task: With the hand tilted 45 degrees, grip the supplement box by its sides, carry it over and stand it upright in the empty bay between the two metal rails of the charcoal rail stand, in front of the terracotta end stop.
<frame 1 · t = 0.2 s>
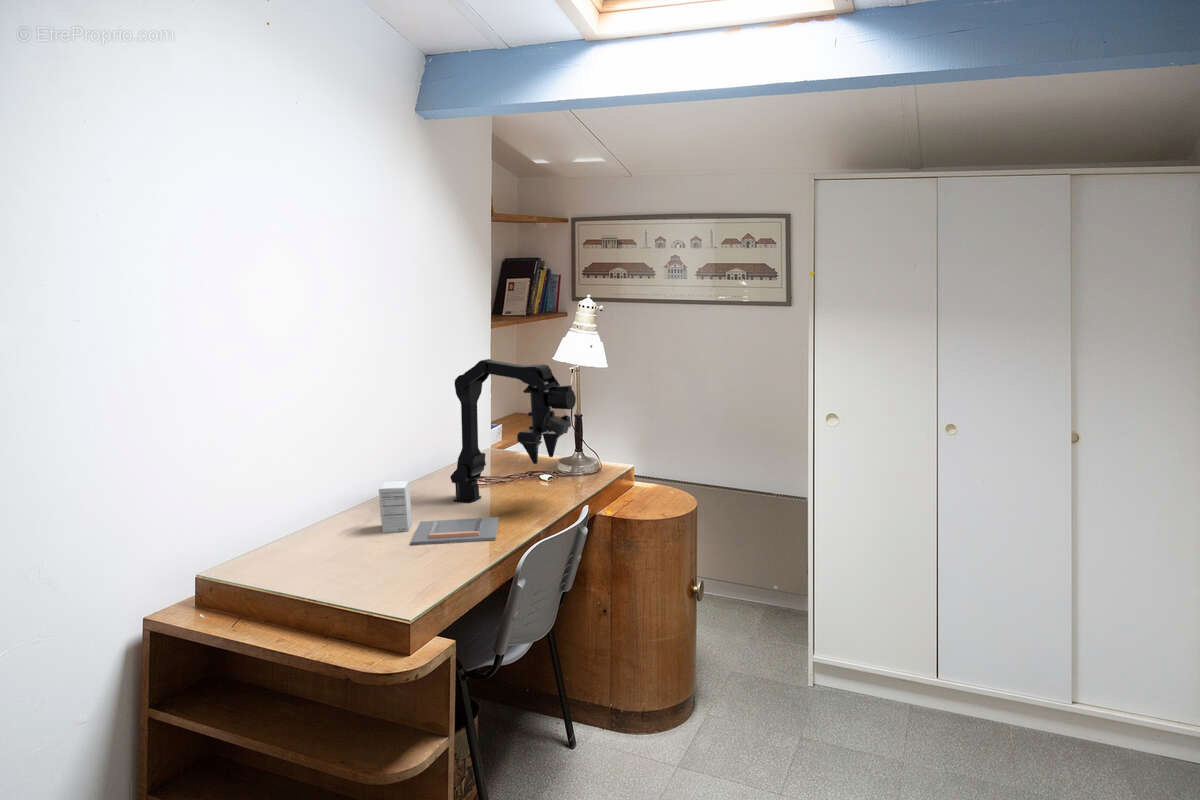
hand: (543, 460, 233), 15 cm above the table, tool pointing down, fingers open, 9 cm apart
rail stand: (456, 531, 216), on the table
supplement box: (397, 529, 221), on the table
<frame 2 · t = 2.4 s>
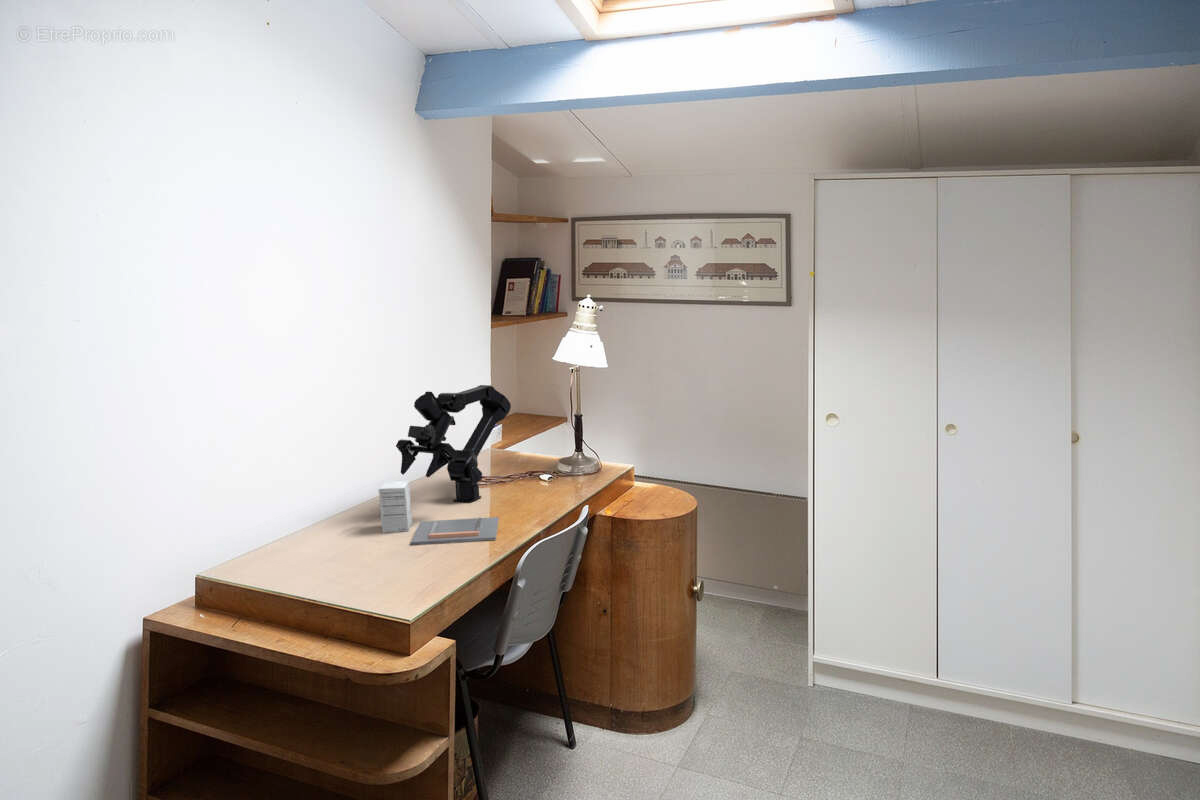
hand: (414, 475, 226), 13 cm above the table, tool tilted 45°, fingers open, 9 cm apart
nothing on the table moved.
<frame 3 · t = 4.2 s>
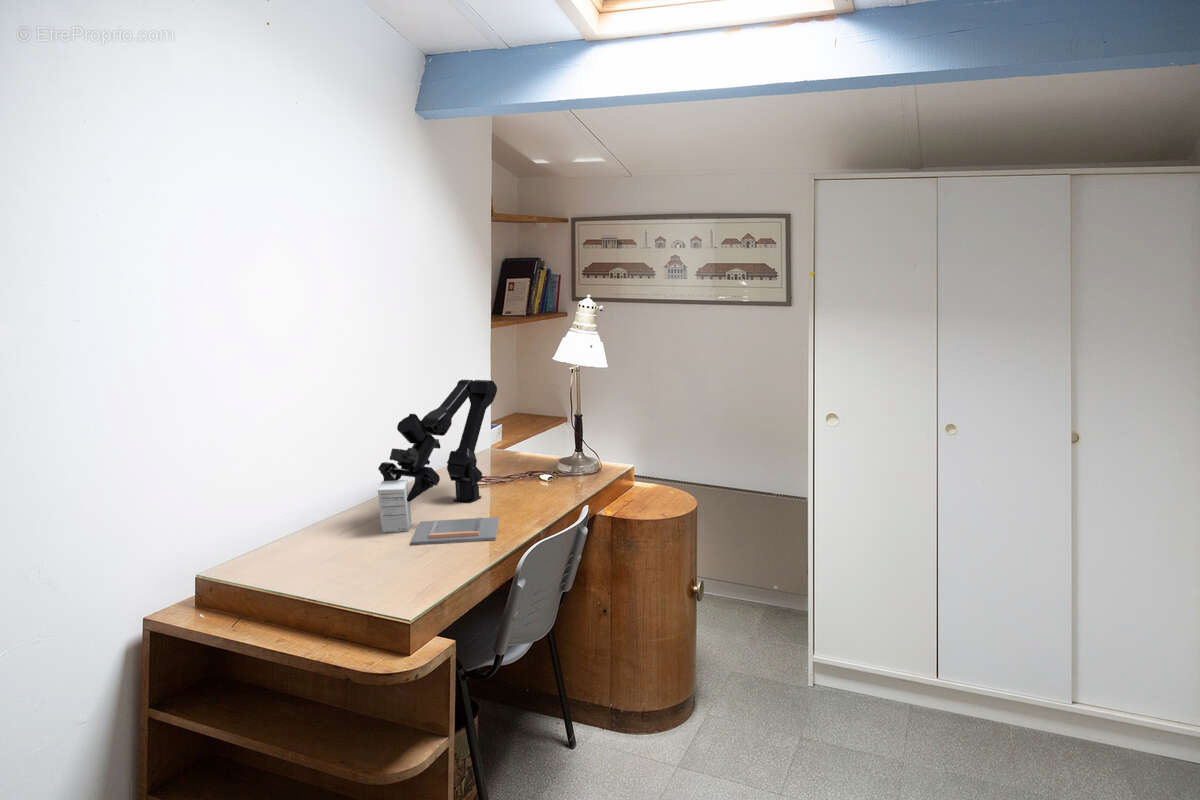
hand: (395, 499, 220), 8 cm above the table, tool tilted 45°, fingers closed on supplement box, 9 cm apart
supplement box: (397, 527, 221), on the table, touching gripper
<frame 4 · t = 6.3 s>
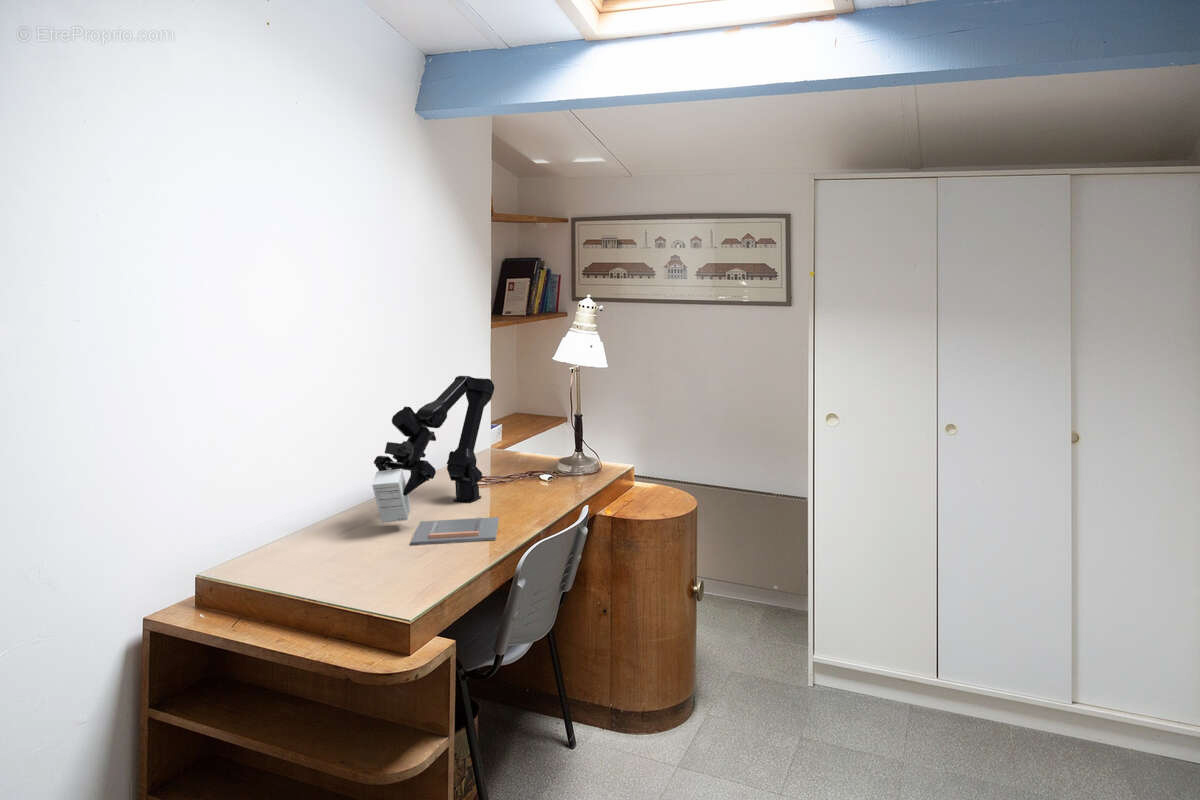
hand: (391, 493, 219), 10 cm above the table, tool tilted 45°, fingers closed on supplement box, 9 cm apart
supplement box: (396, 515, 221), point 4 cm above the table, touching gripper
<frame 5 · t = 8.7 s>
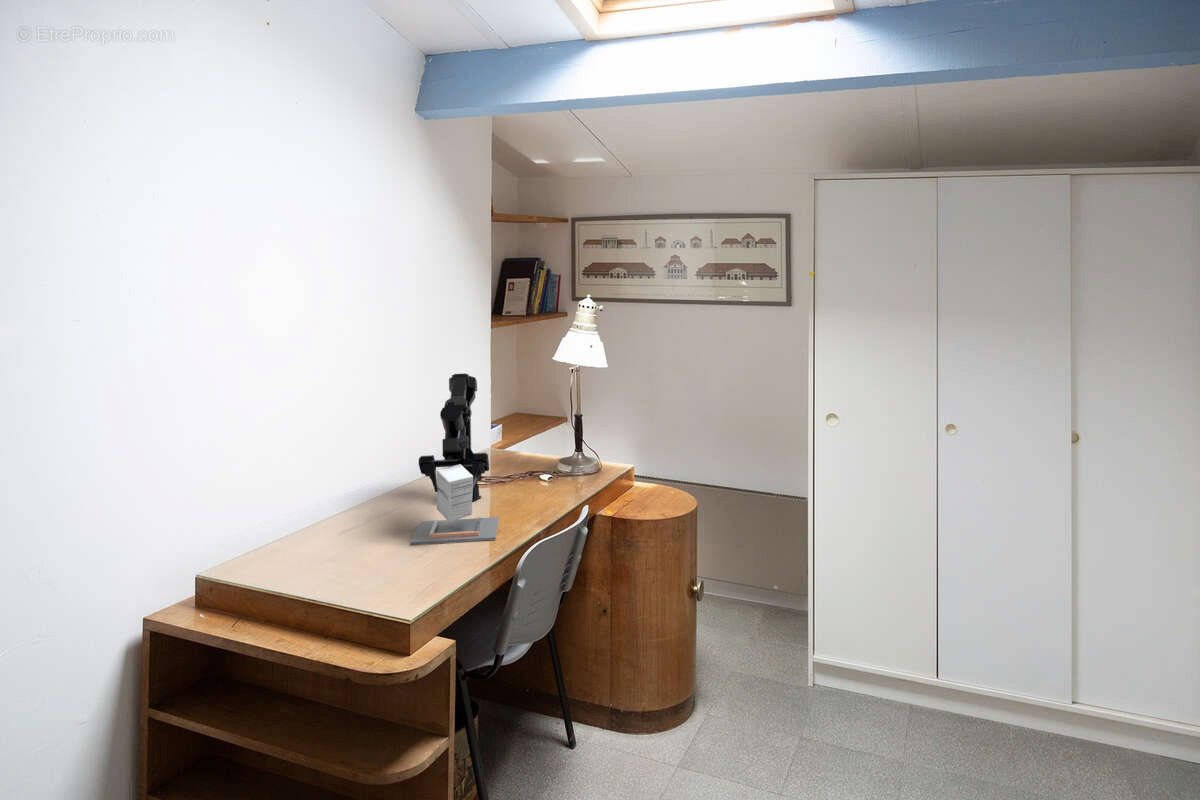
hand: (453, 490, 213), 12 cm above the table, tool tilted 45°, fingers closed on supplement box, 9 cm apart
supplement box: (454, 513, 216), point 5 cm above the table, touching gripper
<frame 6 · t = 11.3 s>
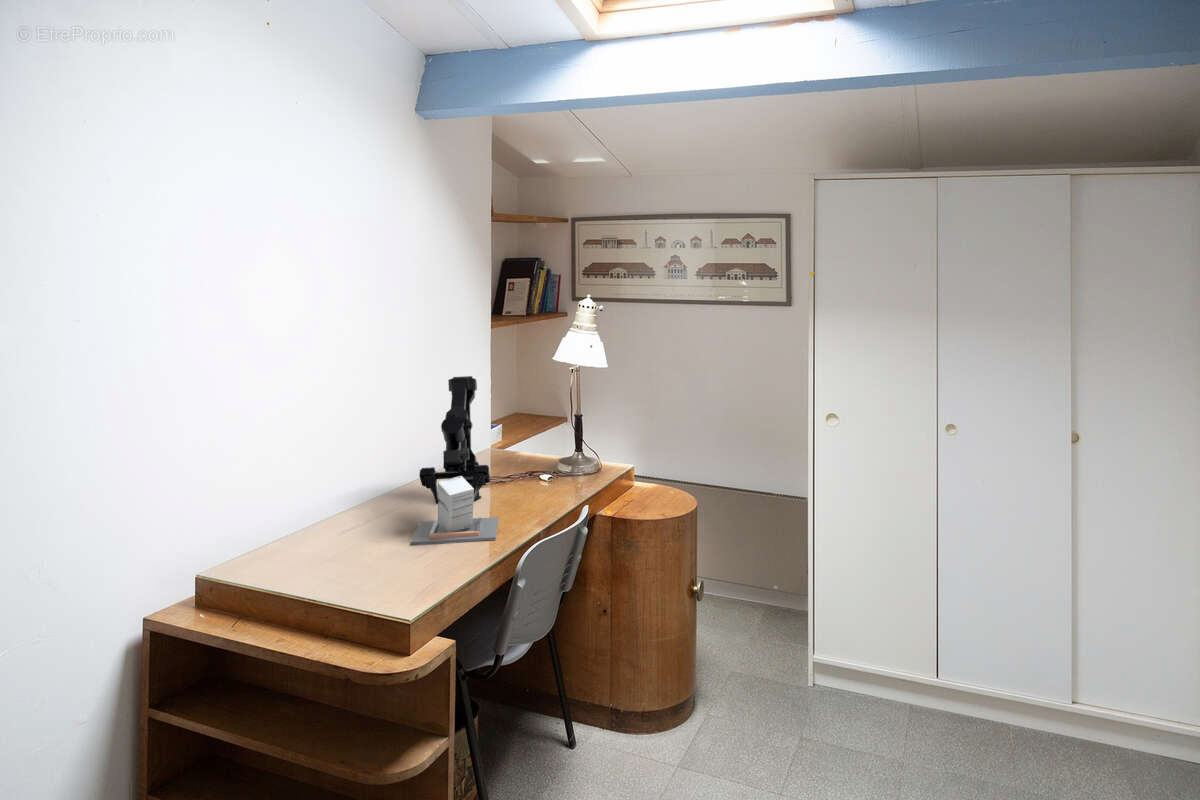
hand: (454, 502, 213), 9 cm above the table, tool tilted 45°, fingers closed on supplement box, 9 cm apart
supplement box: (455, 524, 216), point 2 cm above the table, touching gripper, rail stand
when the fingers open (11 cm above the table, at t = 13.6 s): supplement box stays where it is, resting on rail stand.
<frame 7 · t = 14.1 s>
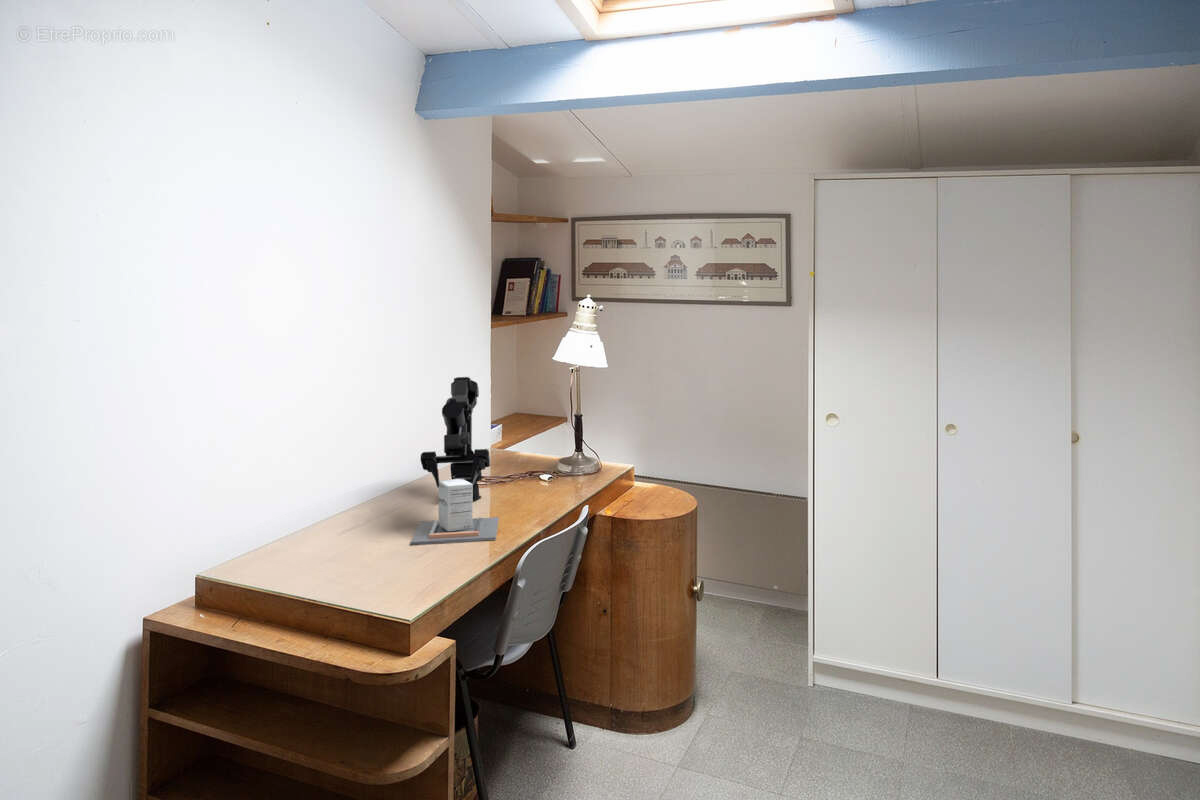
hand: (454, 485, 217), 12 cm above the table, tool tilted 45°, fingers open, 9 cm apart
supplement box: (455, 527, 217), point 1 cm above the table, touching gripper, rail stand
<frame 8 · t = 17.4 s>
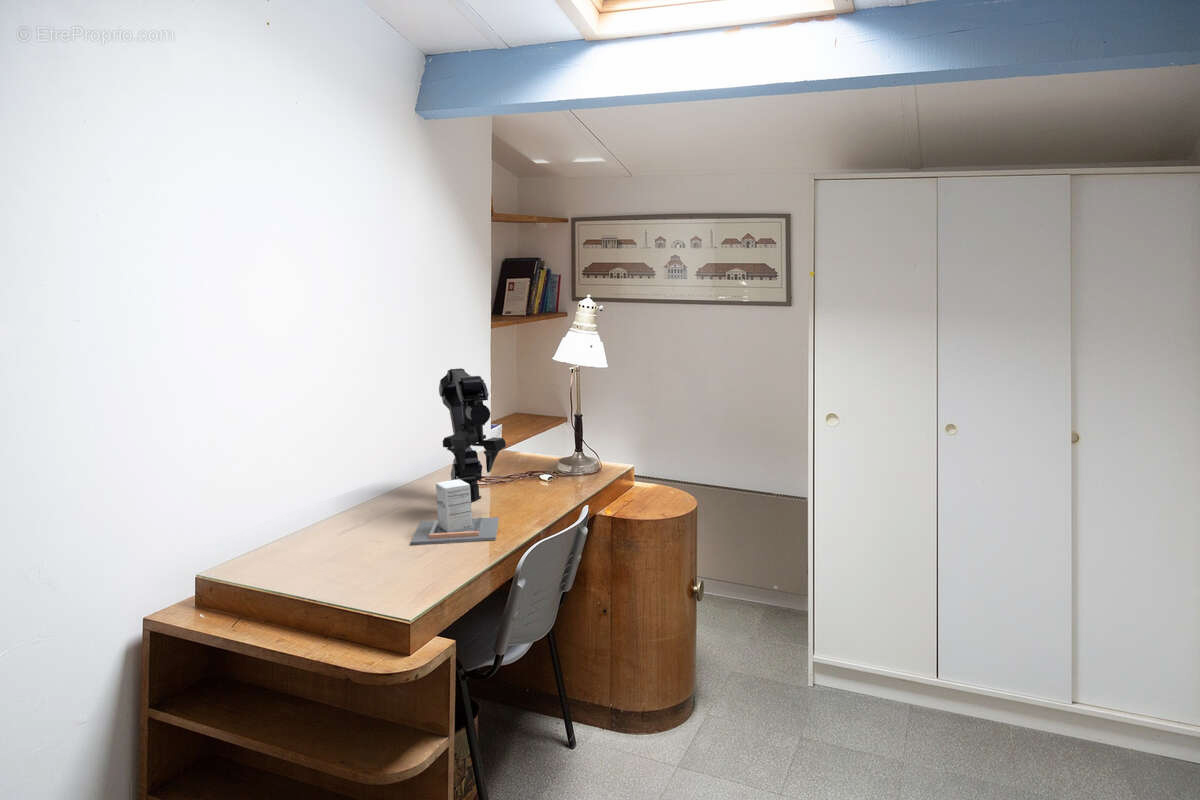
hand: (475, 471, 234), 12 cm above the table, tool pointing down, fingers open, 9 cm apart
supplement box: (455, 528, 217), point 1 cm above the table, touching rail stand
at the end: supplement box 1.1 cm off-centre on the rail stand, point 0.6 cm above the rail stand's base; supplement box tilted 0°; the gripper is holding nothing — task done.
